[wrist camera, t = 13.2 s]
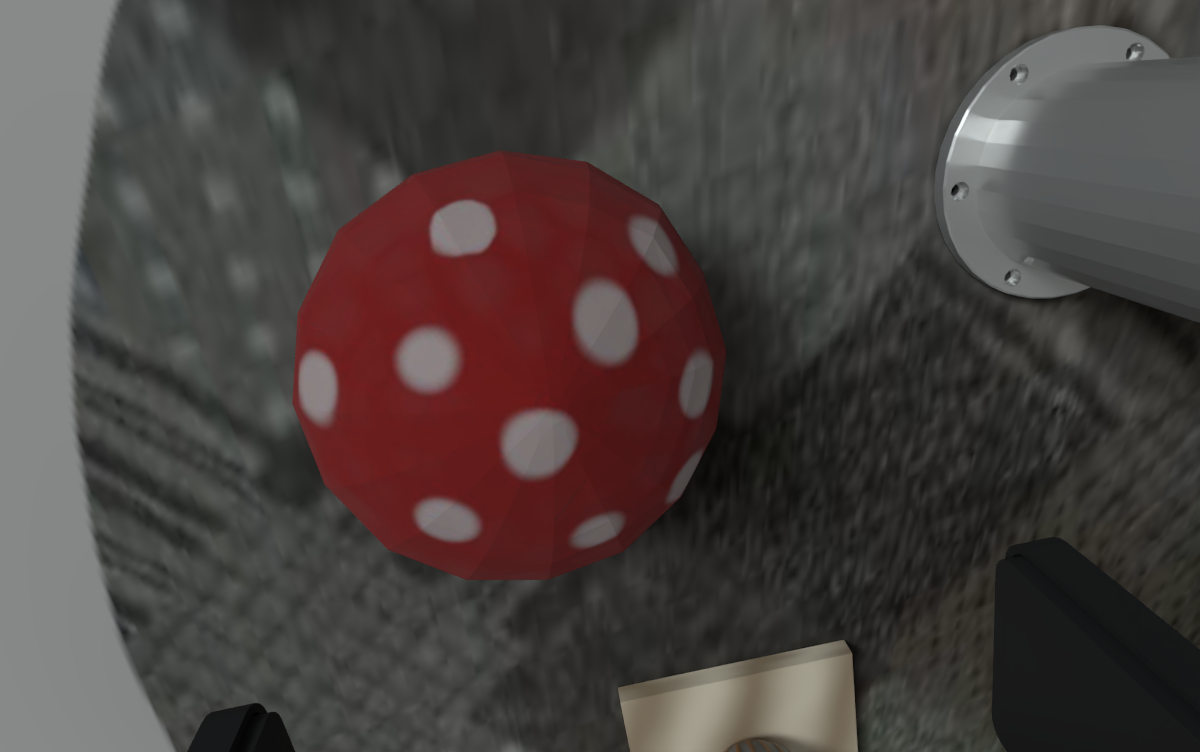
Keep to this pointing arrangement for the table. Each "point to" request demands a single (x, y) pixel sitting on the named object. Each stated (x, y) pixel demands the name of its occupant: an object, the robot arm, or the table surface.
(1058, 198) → the robot arm
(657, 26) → the table surface
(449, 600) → the table surface
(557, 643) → the table surface
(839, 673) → the birch pad
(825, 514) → the table surface
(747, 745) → the vase
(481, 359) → the decorative mushroom
